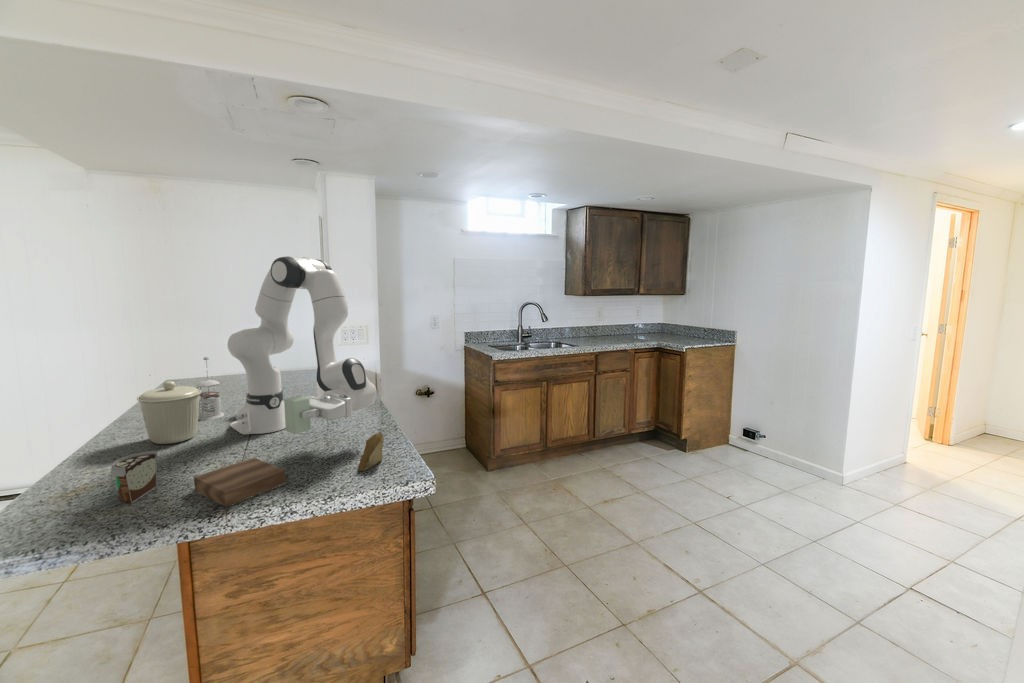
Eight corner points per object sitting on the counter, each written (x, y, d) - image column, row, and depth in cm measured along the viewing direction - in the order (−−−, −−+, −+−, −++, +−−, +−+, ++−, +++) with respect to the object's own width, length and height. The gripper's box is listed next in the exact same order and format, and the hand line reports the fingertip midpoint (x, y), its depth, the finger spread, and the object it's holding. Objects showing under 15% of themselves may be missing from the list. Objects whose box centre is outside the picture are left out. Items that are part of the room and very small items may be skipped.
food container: (137, 484, 125) (133, 450, 123) (160, 484, 125) (157, 450, 124) (100, 507, 113) (96, 469, 111) (127, 506, 113) (123, 468, 112)
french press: (214, 420, 181) (209, 359, 178) (185, 419, 182) (180, 358, 178) (229, 412, 191) (225, 355, 188) (202, 412, 191) (198, 354, 188)
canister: (169, 430, 169) (164, 375, 166) (216, 431, 168) (212, 376, 165) (126, 447, 151) (120, 386, 148) (179, 449, 150) (174, 388, 148)
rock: (364, 468, 133) (393, 455, 140) (352, 443, 135) (381, 430, 142) (353, 479, 140) (381, 466, 147) (342, 454, 142) (370, 442, 149)
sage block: (285, 431, 137) (284, 399, 136) (300, 426, 141) (299, 395, 140) (295, 434, 135) (294, 401, 133) (310, 429, 139) (309, 398, 137)
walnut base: (195, 491, 122) (193, 477, 121) (254, 470, 135) (253, 457, 135) (226, 507, 114) (225, 492, 113) (285, 483, 127) (285, 470, 127)
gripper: (313, 389, 153) (274, 398, 141) (353, 398, 143) (315, 408, 131) (314, 407, 154) (275, 417, 142) (354, 417, 144) (316, 429, 132)
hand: (294, 413), depth 136 cm, fingers closed on sage block, 5 cm apart
